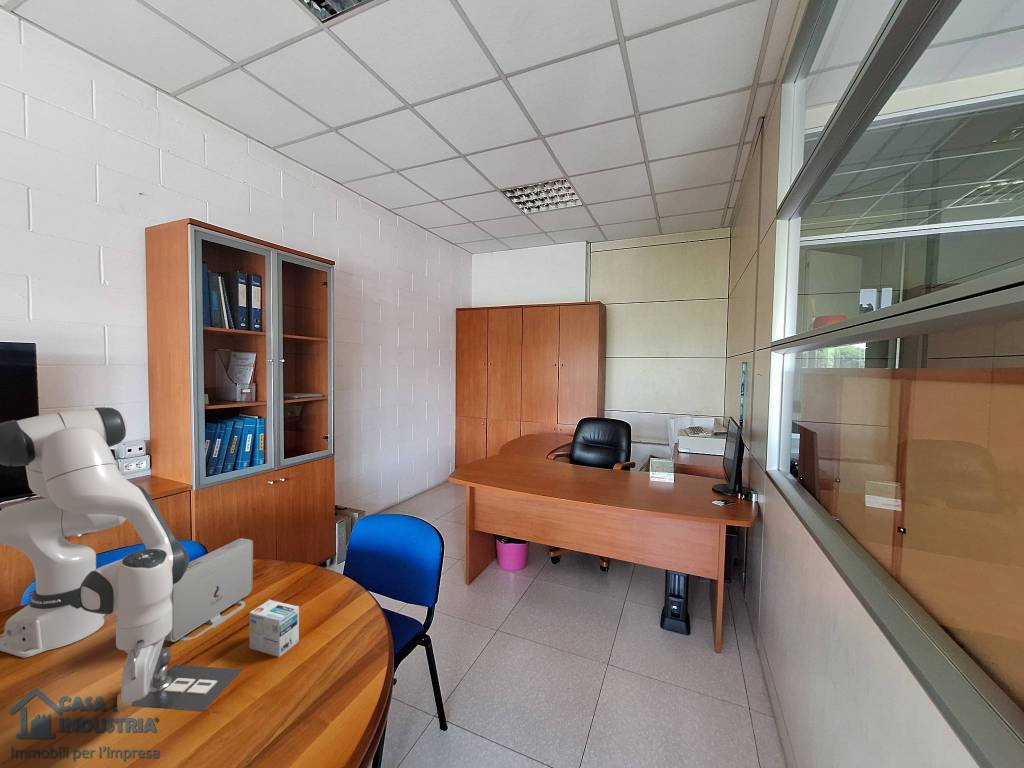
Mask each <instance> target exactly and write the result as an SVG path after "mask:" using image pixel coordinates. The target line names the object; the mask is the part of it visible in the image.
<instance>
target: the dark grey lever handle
mask: <svg viewBox="0 0 1024 768" xmlns="http://www.w3.org/2000/svg"><path fill="white" fill-rule="evenodd" d="M170 661H171V648H170V647H168V646H167V647H166V646H165V647H163V646H162V649H161V652H160V655H159V658H158V661H157V664H156V667H155V670H154V673H153V676H154V675H155V674H156V672H157V671H158V670H159V669H160V668H162V667H164V666H166V665H167V666H168V665H169V663H171V662H170ZM153 676H152V677H153ZM116 697H117V699H116V701H117V702H116V704H117V705H116V711H117V712H118V713H122V712H125V711H127V710H129V709H130V708H131V707H133V706H132V702H131V703H128V704H122V702H121V691H120V692H119V693H118V694H117V696H116Z"/></svg>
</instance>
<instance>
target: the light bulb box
mask: <svg viewBox="0 0 1024 768" xmlns="http://www.w3.org/2000/svg"><path fill="white" fill-rule="evenodd" d="M299 618H300V605H294V604H289V603H285V602H280V601H277V600H272V599H268V600H267V601H265V602H264V603H262V604H261V605H259V606H257V607H255V608H254V609H253V610H251V611H250V612H249V649H250V650H254V651H256V652H257V651H258V652H261V653H263V654H264V653H265V654H267V655H271V656H275V657H276V658H280V657H282V656H283V655H284V654H286V653H287V652H288V651H290V650H291V649H292V648H293V647H294V646H295V645H297V644H298V643H299V642H300V631H299V630H300V619H299Z"/></svg>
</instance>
